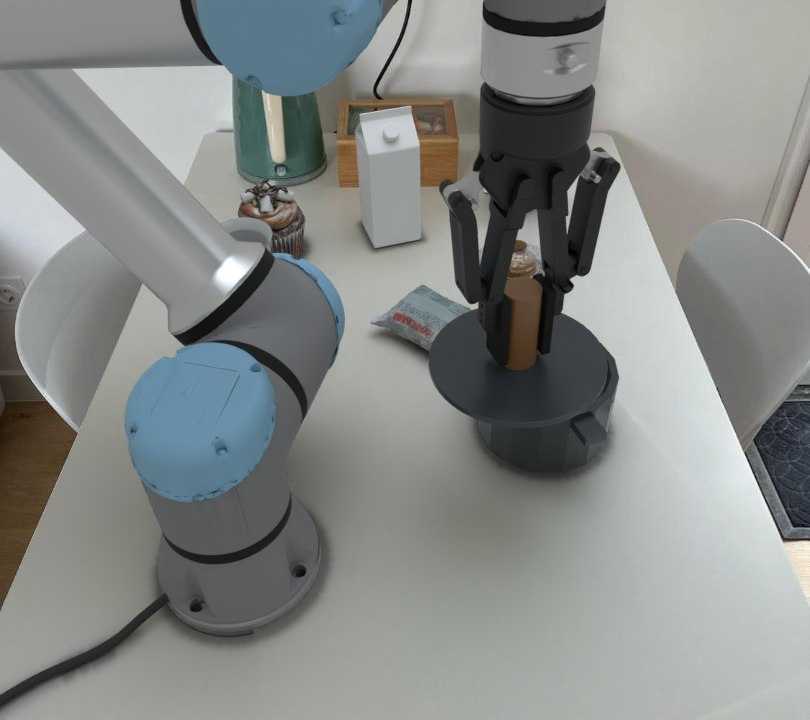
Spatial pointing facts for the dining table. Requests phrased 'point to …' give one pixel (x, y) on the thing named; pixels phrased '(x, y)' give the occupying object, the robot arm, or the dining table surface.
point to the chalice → (249, 230)
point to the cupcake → (276, 215)
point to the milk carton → (389, 176)
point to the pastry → (524, 260)
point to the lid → (519, 365)
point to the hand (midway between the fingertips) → (517, 349)
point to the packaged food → (420, 316)
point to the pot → (557, 435)
